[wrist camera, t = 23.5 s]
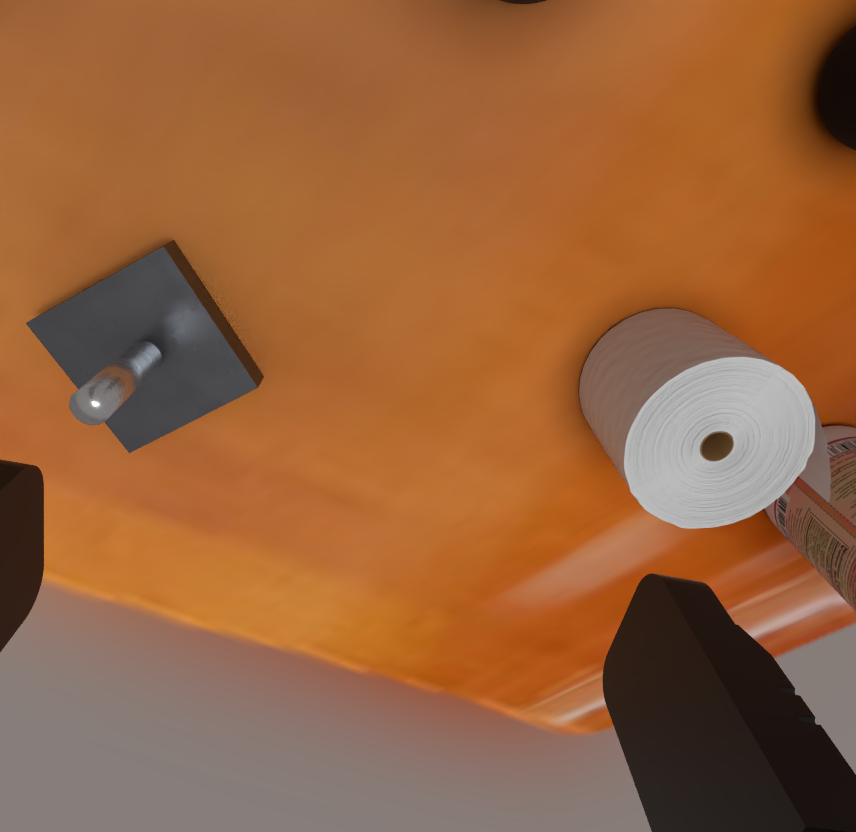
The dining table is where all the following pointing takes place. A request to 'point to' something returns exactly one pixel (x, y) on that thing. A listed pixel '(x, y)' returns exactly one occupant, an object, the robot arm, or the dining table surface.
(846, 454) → the fruit juice
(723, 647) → the robot arm
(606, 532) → the dining table surface
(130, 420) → the post stand
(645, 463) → the toilet tissue
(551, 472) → the dining table surface
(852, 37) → the mug
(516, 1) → the olive oil
